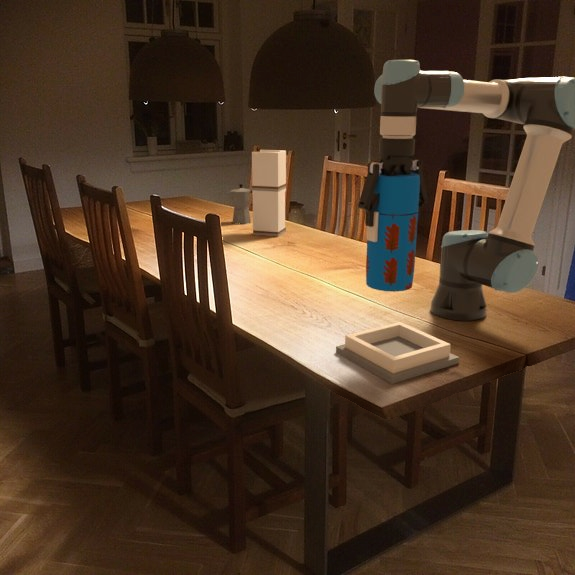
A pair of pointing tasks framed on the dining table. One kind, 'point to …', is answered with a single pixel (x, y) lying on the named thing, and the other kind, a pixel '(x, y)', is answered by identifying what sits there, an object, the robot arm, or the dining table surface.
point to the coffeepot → (241, 204)
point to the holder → (397, 352)
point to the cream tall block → (269, 192)
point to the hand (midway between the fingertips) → (391, 237)
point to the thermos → (394, 234)
